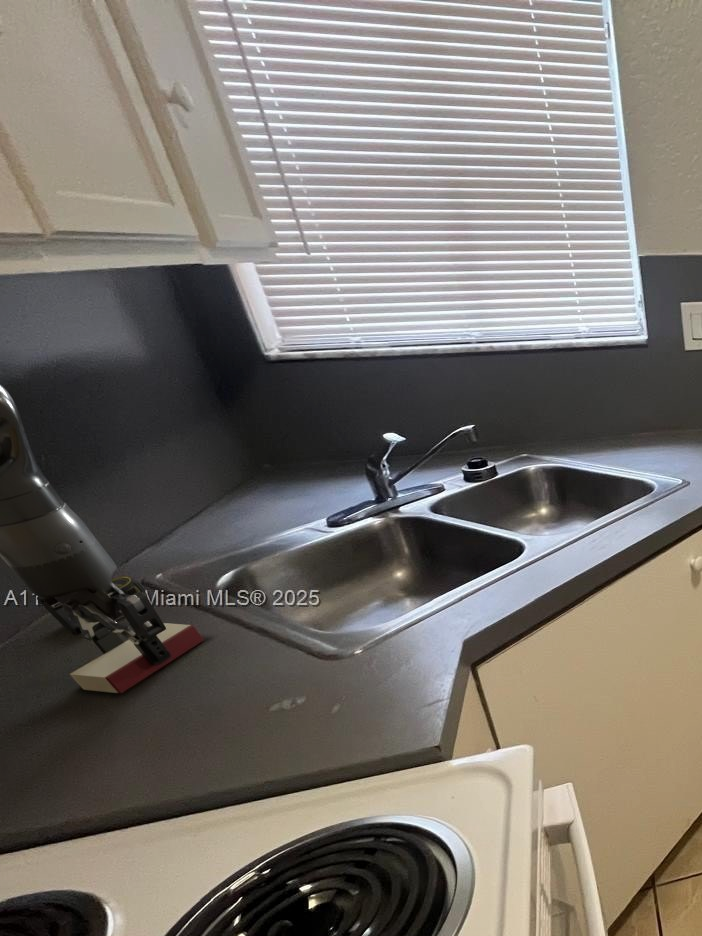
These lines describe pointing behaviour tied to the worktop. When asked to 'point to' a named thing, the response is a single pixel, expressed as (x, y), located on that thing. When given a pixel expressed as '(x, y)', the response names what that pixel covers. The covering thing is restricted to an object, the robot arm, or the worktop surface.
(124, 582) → the tape measure
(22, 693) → the worktop surface
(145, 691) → the worktop surface
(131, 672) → the pocket book
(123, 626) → the robot arm
